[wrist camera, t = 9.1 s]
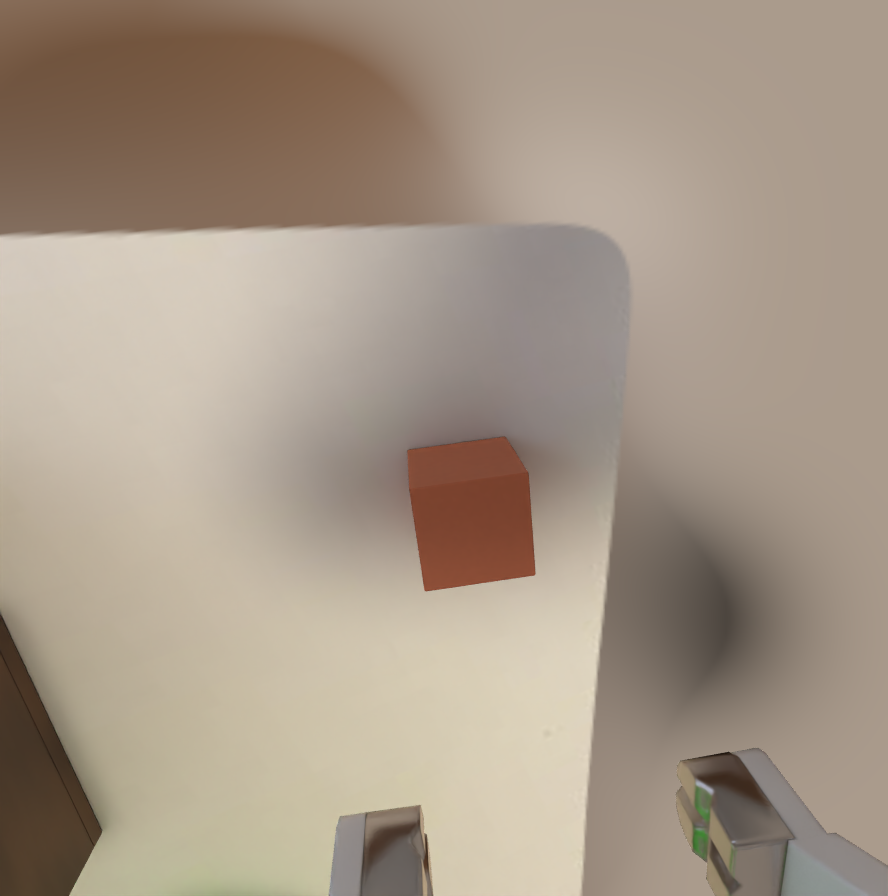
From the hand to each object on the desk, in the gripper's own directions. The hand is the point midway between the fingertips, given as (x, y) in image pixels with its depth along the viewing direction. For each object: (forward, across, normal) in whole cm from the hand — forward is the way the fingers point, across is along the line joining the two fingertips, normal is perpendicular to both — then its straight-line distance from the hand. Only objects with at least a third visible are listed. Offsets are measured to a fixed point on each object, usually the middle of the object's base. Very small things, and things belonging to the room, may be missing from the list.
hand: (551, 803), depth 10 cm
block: (+15, 0, 0) cm, 15 cm away
